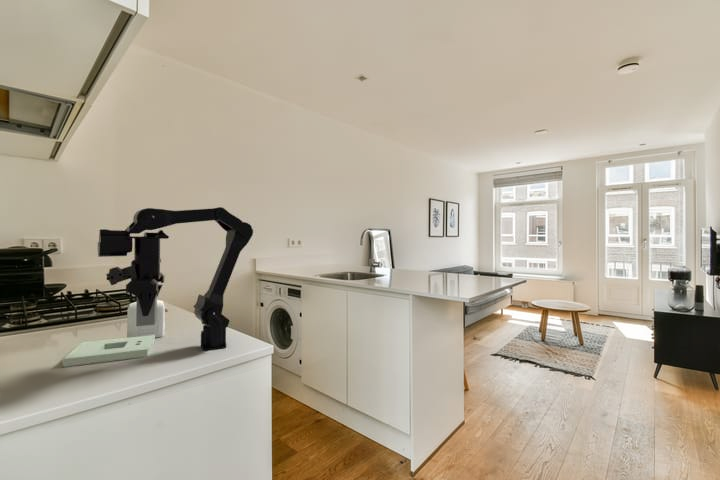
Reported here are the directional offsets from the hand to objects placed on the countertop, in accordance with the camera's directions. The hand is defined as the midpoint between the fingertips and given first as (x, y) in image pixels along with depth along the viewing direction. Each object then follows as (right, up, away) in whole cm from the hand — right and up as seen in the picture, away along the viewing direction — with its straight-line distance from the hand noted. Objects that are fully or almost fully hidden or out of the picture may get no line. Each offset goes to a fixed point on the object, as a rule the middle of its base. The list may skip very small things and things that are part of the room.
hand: (147, 314), depth 86 cm
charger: (0, -3, 0) cm, 2 cm away
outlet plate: (-13, -12, +6) cm, 19 cm away
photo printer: (-13, -12, +19) cm, 26 cm away
